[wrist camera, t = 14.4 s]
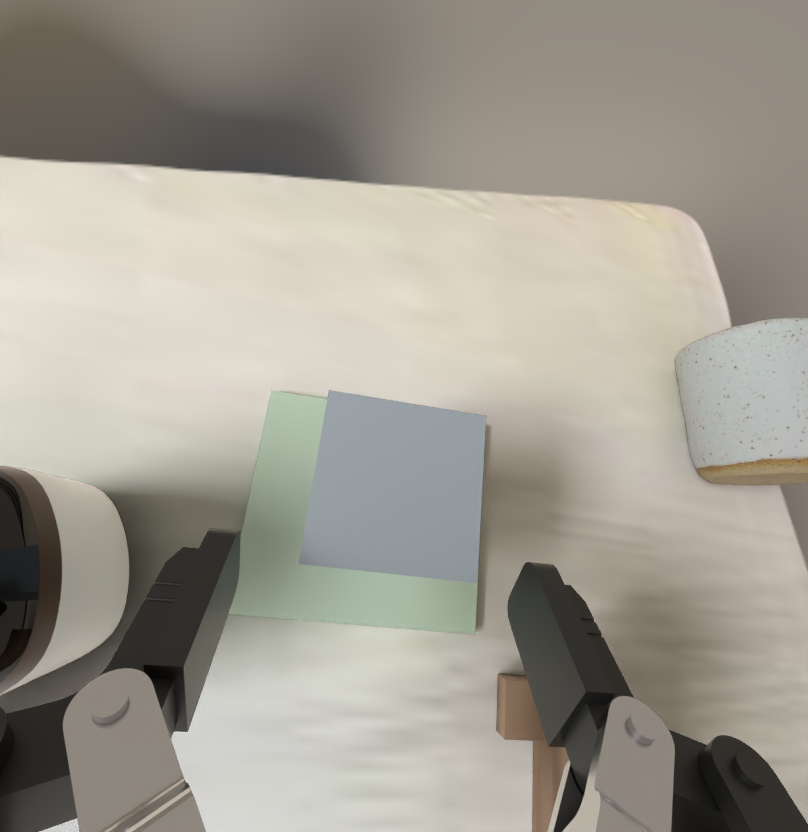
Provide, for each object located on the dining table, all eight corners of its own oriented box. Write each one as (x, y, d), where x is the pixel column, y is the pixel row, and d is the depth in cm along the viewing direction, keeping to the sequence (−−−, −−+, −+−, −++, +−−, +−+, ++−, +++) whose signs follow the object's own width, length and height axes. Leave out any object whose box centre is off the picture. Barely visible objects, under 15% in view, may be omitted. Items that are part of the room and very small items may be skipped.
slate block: (310, 554, 21) (298, 563, 11) (327, 454, 22) (328, 390, 13) (413, 565, 21) (482, 583, 12) (423, 468, 23) (490, 416, 14)
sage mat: (227, 612, 20) (224, 614, 19) (272, 393, 23) (271, 390, 23) (471, 632, 22) (475, 634, 21) (481, 425, 25) (485, 423, 24)
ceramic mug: (666, 487, 26) (801, 467, 19) (645, 364, 28) (758, 303, 21) (806, 492, 28) (978, 475, 21) (776, 376, 30) (921, 324, 23)
